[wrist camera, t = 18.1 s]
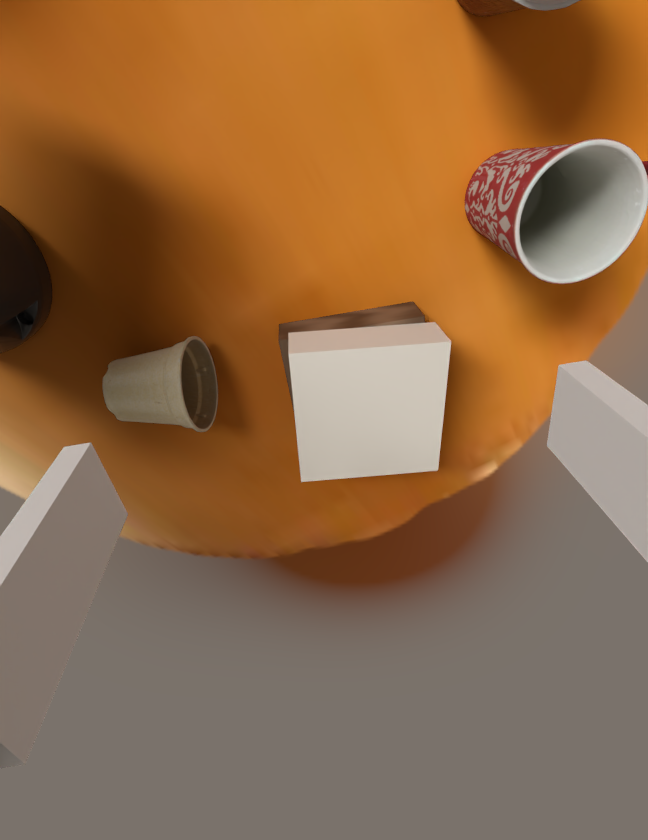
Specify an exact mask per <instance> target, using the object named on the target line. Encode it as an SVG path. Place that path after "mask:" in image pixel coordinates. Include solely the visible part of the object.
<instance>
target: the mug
mask: <svg viewBox="0 0 648 840" xmlns="http://www.w3.org/2000/svg"><path fill="white" fill-rule="evenodd" d="M647 205H648V161H641V160H640V158H639V156H638V155H637V154H636V153H635V152H634V151H633V150H632V149H630V148H629V147H628V146H626V145H624V144H622V143H621V142H618V141H615V140H611V139H590V140H585V141H581V142H578V143H575V144H569V145H557V146H548V147H537V148H526V149H513V150H506V151H502V152H499V153H497V154H495V155H493V156H491V157H490V158H488V159H487V160H486V161H485V162H483V163H482V164H481V165H480V166H479V168H478V169H477V170H476V171H475V173H474V174H473V176H472V178H471V180H470V182H469V184H468V187H467V190H466V195H465V211H466V215H467V218H468V220H469V222H470V224H471V225H472V227H473V228H474V229H475V230H476V231H477V232H479V233H480V234H481V235H483V236H485V237H486V238H488V239H489V240H490V241H492V242H493V243H495V244H496V245H497V246H499V247H500V248H501V249H503V250H504V251H506V252H507V253H508V254H510V255H511V256H512V257H514V258H515V259H517V260H518V261H519V262H521V263H522V264H523V266H524V267H525V268H526V269H527V270H528V271H529V272H530V273H531V274H532V275H533V276H535V277H536V278H538V279H540V280H542V281H545V282H549V283H554V284H569V283H575V282H579V281H582V280H585V279H588V278H590V277H592V276H594V275H596V274H598V273H600V272H601V271H603V270H604V269H606V268H607V267H609V266H610V265H611V264H612V263H614V262H615V261H616V260H617V259H618V258H619V257H620V256H621V255H622V254H623V253H624V252H625V250H626V249H627V248H628V247H629V245H630V244H631V243H632V241H633V240H634V238H635V236H636V235H637V233H638V231H639V229H640V227H641V224H642V222H643V219H644V216H645V214H646V209H647Z"/></svg>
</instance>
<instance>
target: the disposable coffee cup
mask: <svg viewBox="0 0 648 840" xmlns="http://www.w3.org/2000/svg"><path fill="white" fill-rule="evenodd" d="M578 1H580V0H458V2H459V3H460V5H461V6H462V7H463V8H464V9H465V10H467V11H468V12H470V13H472V14H474V15H477V16H491V15H495V14H500V13H505V12H510V11H515V10H519V9H525V8H529V9H534V10H543V11H547V10H554V9H560V8H565V7H567V6H569V5H571V4H573V3H576V2H578Z"/></svg>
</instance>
